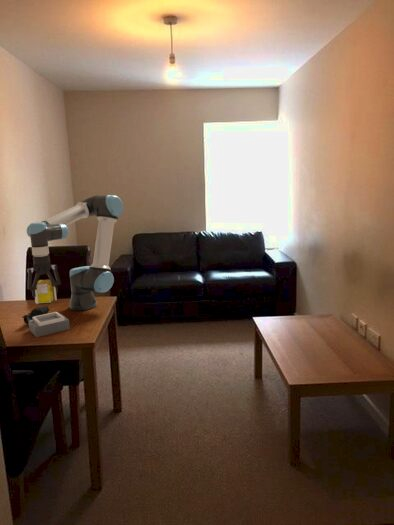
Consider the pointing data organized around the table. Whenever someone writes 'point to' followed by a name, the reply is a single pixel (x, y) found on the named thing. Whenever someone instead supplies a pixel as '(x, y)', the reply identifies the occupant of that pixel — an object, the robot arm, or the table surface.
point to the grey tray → (48, 324)
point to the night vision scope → (36, 313)
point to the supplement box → (45, 292)
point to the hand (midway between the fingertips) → (46, 301)
